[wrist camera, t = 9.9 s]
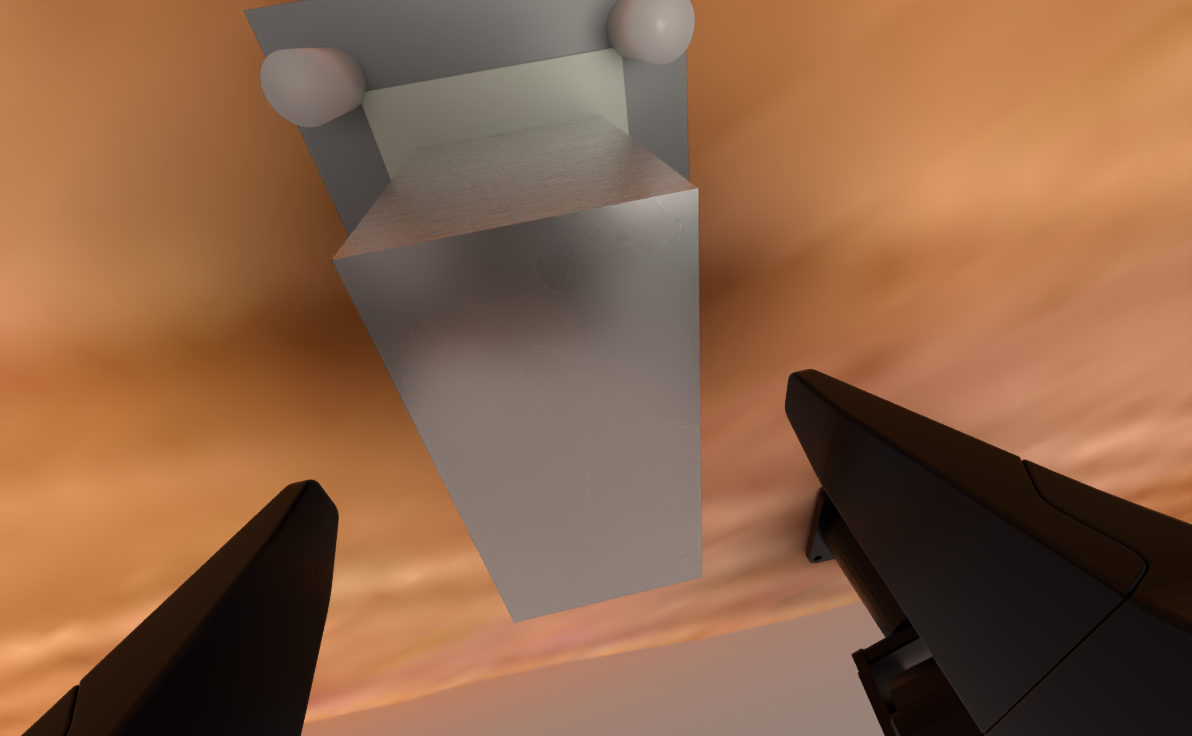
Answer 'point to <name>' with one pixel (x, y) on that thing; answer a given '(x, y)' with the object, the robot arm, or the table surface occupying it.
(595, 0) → the pin tray
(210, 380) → the table surface
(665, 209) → the block
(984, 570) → the robot arm
